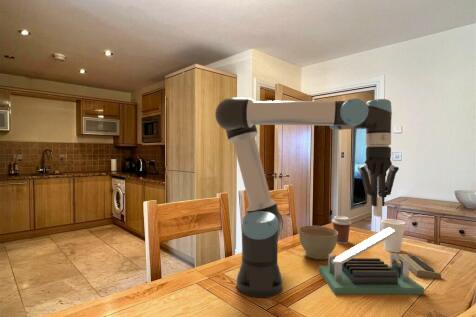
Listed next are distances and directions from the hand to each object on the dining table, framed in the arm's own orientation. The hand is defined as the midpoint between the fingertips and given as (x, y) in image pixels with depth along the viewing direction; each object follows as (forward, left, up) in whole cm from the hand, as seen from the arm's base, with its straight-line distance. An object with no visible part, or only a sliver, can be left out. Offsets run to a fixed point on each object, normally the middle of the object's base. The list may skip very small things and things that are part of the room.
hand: (377, 215), depth 91 cm
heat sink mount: (-3, 0, -23) cm, 23 cm away
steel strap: (-4, 0, -12) cm, 12 cm away
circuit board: (-3, 0, -23) cm, 23 cm away
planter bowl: (-13, +23, -23) cm, 35 cm away
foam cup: (+23, +30, -23) cm, 44 cm away
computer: (+21, +11, -24) cm, 34 cm away
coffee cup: (+4, +41, -23) cm, 47 cm away
